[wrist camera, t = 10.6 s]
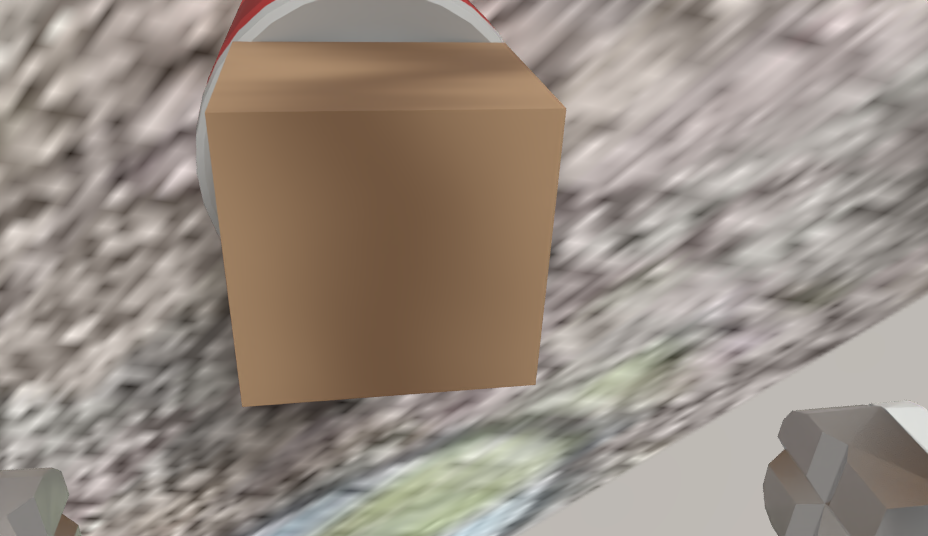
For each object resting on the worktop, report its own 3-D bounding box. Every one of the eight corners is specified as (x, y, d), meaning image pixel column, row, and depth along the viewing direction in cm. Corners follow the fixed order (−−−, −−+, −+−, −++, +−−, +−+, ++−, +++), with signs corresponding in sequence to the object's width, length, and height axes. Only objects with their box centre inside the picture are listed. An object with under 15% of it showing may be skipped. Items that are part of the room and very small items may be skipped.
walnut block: (504, 42, 16) (566, 108, 12) (489, 271, 19) (535, 385, 15) (232, 41, 15) (205, 112, 11) (257, 282, 18) (242, 406, 14)
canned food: (256, 166, 28) (228, 337, 18) (214, -73, 24) (150, -12, 14) (463, 147, 29) (538, 301, 19) (457, -84, 25) (547, -34, 15)
